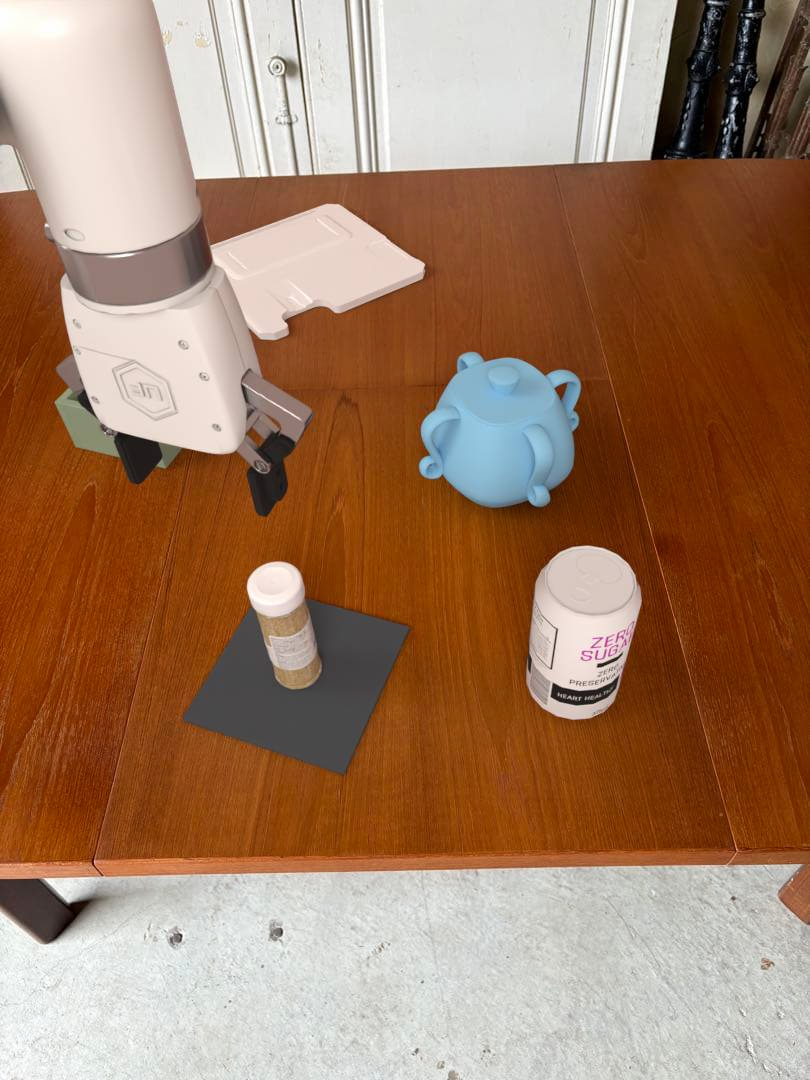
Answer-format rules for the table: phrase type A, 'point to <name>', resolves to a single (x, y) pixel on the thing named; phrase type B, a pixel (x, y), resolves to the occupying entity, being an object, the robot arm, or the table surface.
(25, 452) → the table surface
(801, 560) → the table surface
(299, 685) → the sprinkles bottle
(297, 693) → the mat
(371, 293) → the tray
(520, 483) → the decorative pot
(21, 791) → the table surface
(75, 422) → the crate
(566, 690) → the supplement can
